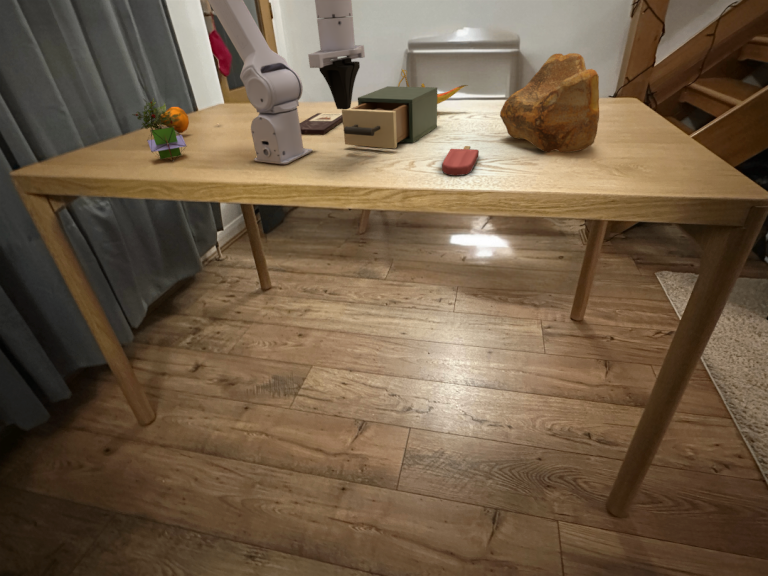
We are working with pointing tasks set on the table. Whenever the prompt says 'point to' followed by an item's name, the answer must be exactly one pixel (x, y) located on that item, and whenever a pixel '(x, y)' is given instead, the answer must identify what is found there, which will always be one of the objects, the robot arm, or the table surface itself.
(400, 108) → the drawer
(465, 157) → the popsicle
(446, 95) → the magic lamp
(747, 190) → the table surface
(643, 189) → the table surface
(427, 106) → the cabinet
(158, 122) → the christmas decoration
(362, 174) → the table surface
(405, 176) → the table surface
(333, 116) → the chocolate bar
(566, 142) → the rough brown rock
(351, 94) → the robot arm
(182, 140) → the geometric puzzle
